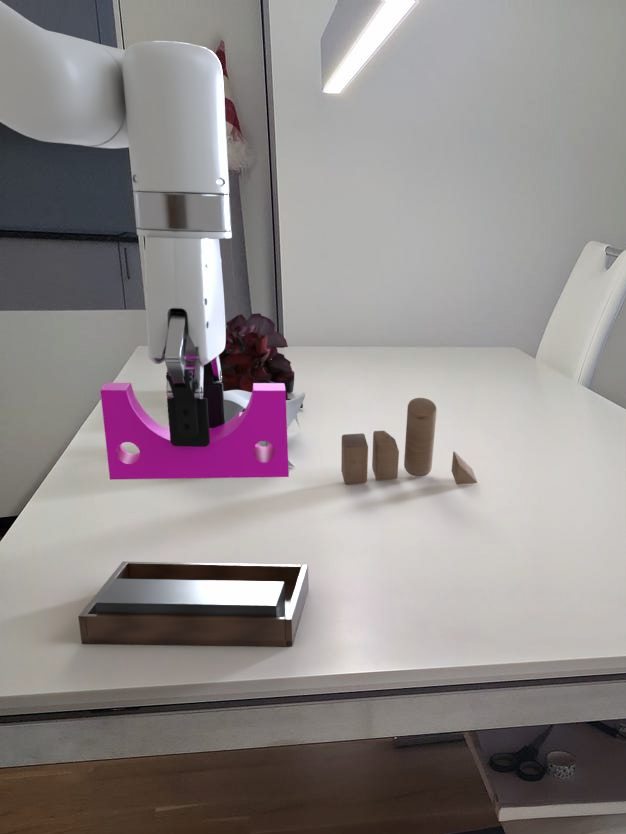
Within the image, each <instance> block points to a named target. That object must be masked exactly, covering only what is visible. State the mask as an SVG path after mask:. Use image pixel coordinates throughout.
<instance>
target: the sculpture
mask: <svg viewBox="0 0 626 834" xmlns="http://www.w3.org/2000/svg"><path fill="white" fill-rule="evenodd" d="M223 392H224V408H225V423H226V422H228V421H230V420H231V419H232V418H234V417H235V416H236V415H237V414H238V413H239V412H242V411H243V409H244V408H245V409H246V407H247V405H248V403H249V401H250V398H251V394H252V393H251V392H247V391H242V390H229V391H223ZM305 397H306V392H301V393H300V394H298V395H297V396H295V397H294V398H290V399H291V400H286V416H287V429H288V428H289V427H290V426H291V424H292V423H293V421H294V420H295V422H296V423H297V425H298V427H299V428H301V426H300V423H299V420H298V413H299V411H300V409H301V408H300V407H301V405H302V403H303V404H304V401H305ZM167 419H168V420H169V418H168V417H167ZM209 429H211V428H209ZM270 444H271V443H269V442H267V441H264V447H266V446H269V445H270ZM288 467H292V468H296V466H295V465H294V464H293V463H291V461H289V460H288Z"/></svg>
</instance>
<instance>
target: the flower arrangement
mask: <svg viewBox="0 0 626 834" xmlns="http://www.w3.org/2000/svg"><path fill="white" fill-rule="evenodd" d="M225 325H226V326H227V327H226V343H225V348H224V350H223V352H222V353H220V354H219V360H220V367H221V373H222V380H221V382H215V383H223V391H229V390H242V391H247V392H251V393H252V390H253V383H284V384H285V390H286V400H291V399H292V398H289V396H288V393H293V392H294V387H295V371H294V370H293V369H292V365H291V364H292V362H291V361H290V360H289V359H287V358H286V357H285V354H283V353H282V352H281V353H280V352H279V351H278V349H283V348H284V349H285V348H289V346H288V343H287V339H286V338H285V337H284V335H282V333H281V332H278V331H276V324H275V322H274V321H273V320H272V319H271V318H269V317H267V316H264V315H262V314H261V313H260V312H258V313H251V314H250V316H249V317H248V318H247V319H246V317H245V316H244V315H243V314H242V313H241V314H237V315H236V316H234V317H233V318H231V319H230V320H228V321H226V322H225ZM303 408H304V402H303V403H302V405H301V407H300V409H303ZM244 410H245V408H244V409H243V411H242V412H244Z"/></svg>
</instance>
